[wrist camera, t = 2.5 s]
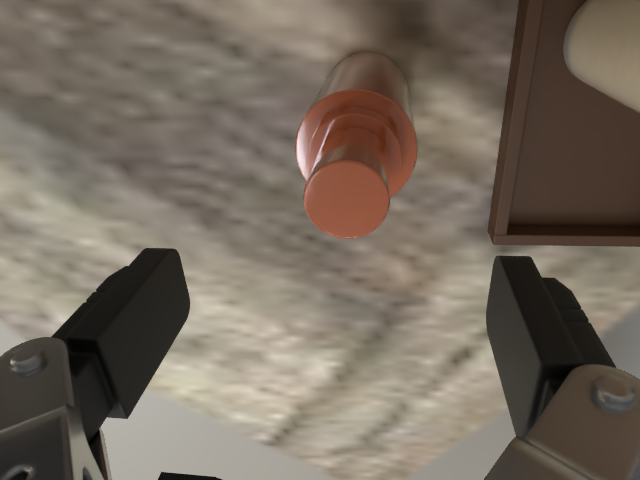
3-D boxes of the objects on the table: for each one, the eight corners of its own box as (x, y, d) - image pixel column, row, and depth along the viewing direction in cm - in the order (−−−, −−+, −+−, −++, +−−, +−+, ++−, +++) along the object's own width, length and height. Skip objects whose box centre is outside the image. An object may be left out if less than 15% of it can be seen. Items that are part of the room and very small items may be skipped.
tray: (555, -266, 21) (570, -288, 19) (822, -301, 19) (864, -328, 18) (487, 231, 33) (492, 245, 32) (646, 232, 32) (661, 247, 30)
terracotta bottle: (322, 53, 29) (260, 125, 15) (409, 50, 28) (431, 122, 14) (326, 138, 32) (277, 266, 18) (406, 136, 31) (421, 269, 17)
